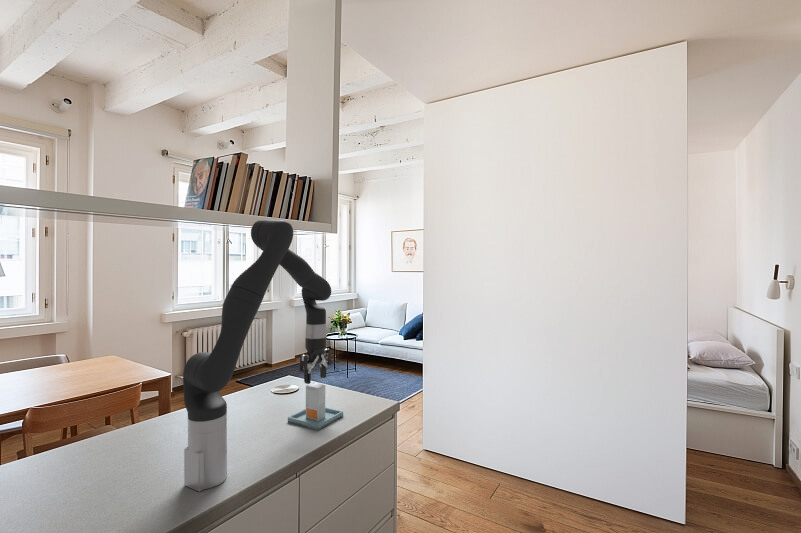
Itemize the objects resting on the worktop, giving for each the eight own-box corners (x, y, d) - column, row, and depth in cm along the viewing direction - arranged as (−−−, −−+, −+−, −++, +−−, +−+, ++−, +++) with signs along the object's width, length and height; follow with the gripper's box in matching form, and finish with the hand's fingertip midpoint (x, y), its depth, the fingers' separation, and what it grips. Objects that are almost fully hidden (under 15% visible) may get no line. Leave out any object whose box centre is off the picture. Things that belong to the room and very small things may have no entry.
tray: (318, 430, 135) (318, 425, 135) (287, 422, 142) (287, 417, 142) (343, 416, 148) (343, 411, 148) (314, 409, 154) (314, 404, 154)
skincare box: (305, 418, 144) (305, 385, 144) (313, 414, 148) (313, 382, 148) (318, 421, 141) (318, 387, 141) (325, 417, 145) (325, 384, 145)
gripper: (310, 340, 137) (310, 387, 137) (336, 334, 149) (336, 377, 149) (294, 338, 140) (293, 384, 140) (320, 332, 153) (320, 374, 153)
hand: (315, 380), depth 145 cm, fingers open, 8 cm apart
